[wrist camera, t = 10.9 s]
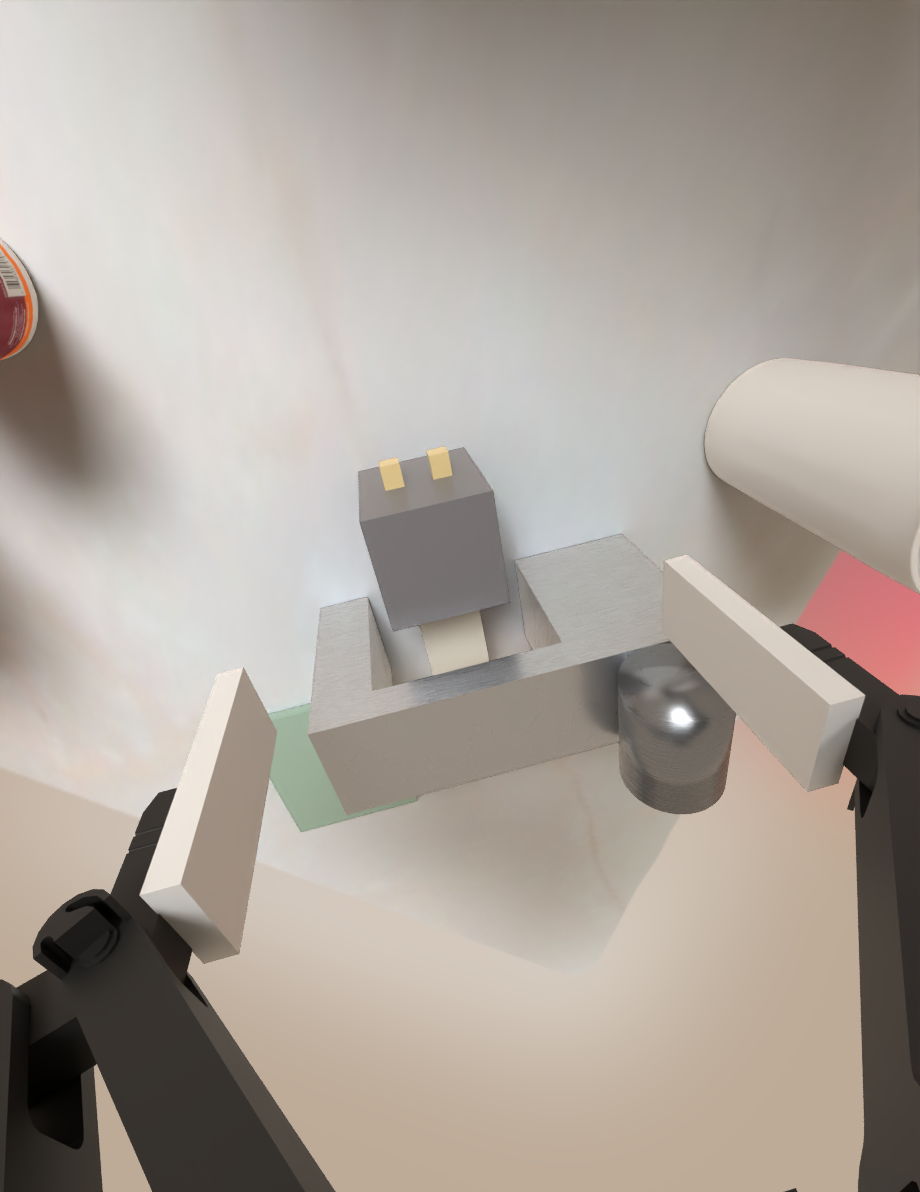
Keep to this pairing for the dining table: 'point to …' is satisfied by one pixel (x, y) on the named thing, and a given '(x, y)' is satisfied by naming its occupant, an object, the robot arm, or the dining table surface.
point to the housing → (528, 693)
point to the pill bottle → (15, 304)
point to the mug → (828, 455)
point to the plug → (435, 551)
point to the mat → (306, 774)
